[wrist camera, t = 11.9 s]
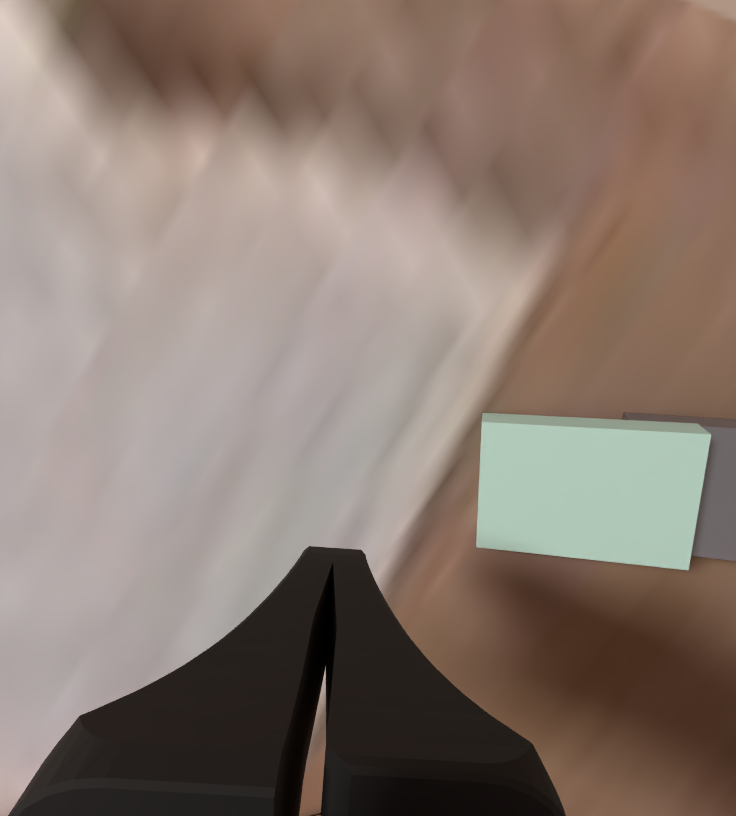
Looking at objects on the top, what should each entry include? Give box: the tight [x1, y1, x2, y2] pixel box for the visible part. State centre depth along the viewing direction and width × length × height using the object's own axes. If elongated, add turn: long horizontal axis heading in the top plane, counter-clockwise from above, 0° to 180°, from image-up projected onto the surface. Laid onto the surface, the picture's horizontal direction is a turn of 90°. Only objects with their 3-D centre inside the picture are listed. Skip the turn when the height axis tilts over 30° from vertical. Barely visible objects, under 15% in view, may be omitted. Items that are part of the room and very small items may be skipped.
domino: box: [623, 412, 736, 561], centre depth 18 cm, size 1×5×7 cm
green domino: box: [476, 413, 711, 570], centre depth 18 cm, size 1×5×7 cm
